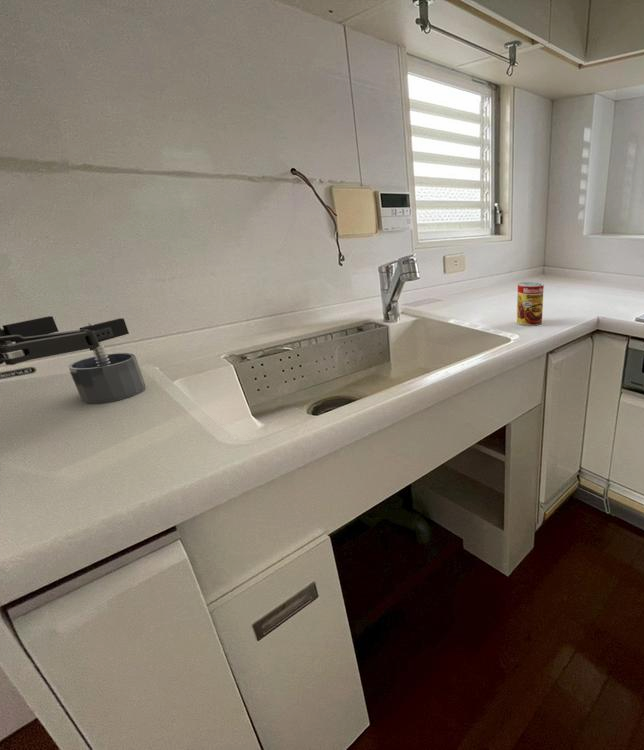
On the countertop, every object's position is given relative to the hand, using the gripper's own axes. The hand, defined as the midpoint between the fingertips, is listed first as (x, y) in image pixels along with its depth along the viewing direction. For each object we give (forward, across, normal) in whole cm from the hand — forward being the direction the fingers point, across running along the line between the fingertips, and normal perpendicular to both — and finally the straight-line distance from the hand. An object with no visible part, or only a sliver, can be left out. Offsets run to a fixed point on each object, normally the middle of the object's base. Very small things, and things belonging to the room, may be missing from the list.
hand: (89, 324), depth 70 cm
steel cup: (0, 0, -13) cm, 13 cm away
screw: (0, 0, -13) cm, 13 cm away
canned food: (+62, +75, -13) cm, 99 cm away
